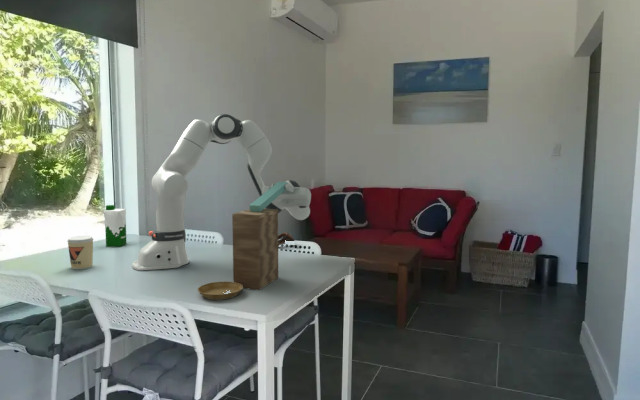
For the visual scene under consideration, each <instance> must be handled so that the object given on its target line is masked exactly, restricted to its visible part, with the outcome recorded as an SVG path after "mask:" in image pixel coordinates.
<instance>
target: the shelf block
mask: <svg viewBox="0 0 640 400" xmlns="http://www.w3.org/2000/svg"><path fill="white" fill-rule="evenodd" d="M231 216H232V218H231V219H232V220H231V221H232V268H233V269H232V271H233V274H232V275H233V280H232V282H236V283H239V284H241V285H242V286H243V288H242V289H247V288H249V289H248V290H255V289H257V291H260V290H261V289H263V288H264V286H265V287H266V286H268V285H269V284H271V283H273V282H274V281H276V280H277V279H279V246H278V236H279V214H278V209H263V210H262V211H261V212H250V208H249V209H246V210H241V211H237V212H234V213H232V215H231ZM272 281H273V282H272ZM267 284H268V285H267Z"/></svg>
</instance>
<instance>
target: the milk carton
mask: <svg viewBox="0 0 640 400" xmlns="http://www.w3.org/2000/svg"><path fill="white" fill-rule="evenodd" d="M103 218H104V226H105V228H104V230H105V247H107V248H111V247H112V248H121V247H123V246H125V245H127V225H126V224H127V223H126V222H127V221H126V208H116V206H115V205H114V204H108V205H107V204H106V205H105V209H104V210H103Z"/></svg>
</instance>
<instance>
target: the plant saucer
mask: <svg viewBox="0 0 640 400" xmlns="http://www.w3.org/2000/svg"><path fill="white" fill-rule="evenodd" d="M242 289H244V288H243V286H242V285H241V284H239V283H236V282H233V281H214V282H209V283H205V284H202V285H200V286H199V287H198V288H197V291H198V292H199V294H200V295H201V296H203V297H204V298H205V299H208V300H213V301H214V300H215V301H218V300H221V299H222V300H227V299H228V298H229V299H232V298H235V297H236V296H238V294H239V293H241V291H242ZM226 290H227V291H229V290H230V292H231V293H228V294H224V293H226V292H227V291H226ZM223 292H224V293H223ZM234 296H235V297H234ZM229 299H228V300H229Z"/></svg>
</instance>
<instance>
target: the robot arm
mask: <svg viewBox="0 0 640 400" xmlns="http://www.w3.org/2000/svg"><path fill="white" fill-rule="evenodd" d="M233 140H234V141H236V142H238V143H239V144H240V145H241V146H242V148H243V149H244V151H245V153H246V156H247V157H248V159H247V160H248V162H247V164H246V166H247V171H248V172H249V175H250V177H251V180H252V182H253V184H254V187H255V189H256V191H257V193H258V195H259V197H260V196H261V195H263V194H264V193H265V192H266V191H268V190H269V189H270V188H271V187H273V186H274V185H275V184H276V183H271V186H268V185H265V182H264V181H263V178H262V174H261V173H262V171H263V168H264V167H265V165H266V164H267V162H268V161H269V160H270V158H271V157H272V153H273V148H272V145H271V143H270V141H269V138H267V136H266V135H265V133H264V132H263V131H262V130H261V128H260V127H259V126H258V125H257V123H255V122H254V121H253V120H250V119H246V120H245V119H244V120H243V121H241V120H240V119H238V118H236V117H235V116H232V115H230V114H227V113H224V114H223V113H222V114H219V115H218V116H215V118H214V119H213V120H212V122H207V121H205V120H203V119H194V120H193V121H191V123H190V124H189V125H188V126H187V127H186V128H185V129H184V131H183V132H182V134H181V135H180V137H179V139H178V141H177V143H176V144H175V145H174V147H173V148H172V151H170V152H171V153H170V154H169V156H167V158H166V159H165V160H164V162H163V163H162V164H161V165H160V167H159V169H158V170H157V171H156V173H155V174H154V175H153V176H152V178H151V187H152V189H153V191H154V192H155V193H156V194H158V197H157V207H156V211H155V221H156V224H155V226H156V229H155V230H154V231H153V230H151V231H150V230H149V232H148V236H150V237H151V240H150V241H149V242H147V244H145V245H144V246H143V247H142V248H140V250H139V251H138V254H137V260H135V261H133V262H132V263H131V266H132V267H131V268H133V269H134V270H136V271H153V270H154V271H155V270H162V269H163V270H165V269H167V270H168V269H176V268H181V266H185V265H187V264H189V262H190V260H189V256H188V253H187V249H186V248H187V247H186V239H187V237H186V229H185V219H184V218H185V217H184V213H185V212H184V211H185V203H186V196H187V191H188V186H189V185H188V181H187V179H186V177H187V176H188V175H189V173H190V172H191V171H192V170H193V169H194V168H195V167H196V166H197V164H198V162H199V160H200V159H201V157H202V156H203V154H204V151H205V149H207V147H208V145H209V144H210V143H211V142H212V143H216V144H220V145H226V144H229V143H230V142H231V141H233ZM285 182H287V183H288V184H284V189H285V191H284V192H283V193H282V194H280V195H279V196H278V197H277V198H276V199H275V200H274V201H272V202H271V203H270V204H269V205H268V206H267V207H266V208H264V209H278V215H279V214H280V213H281V212H283V210H284V209H285V210H286V211H287V212H288V213H289V215H290V216H292V217H293V218H294V219H295V220H299V221H303V220H306V219H307V218H309V216H310V214H311V208H310V204H311V201H312V193H311V190H310V189H309V188H307V187H300V185H299V184H298V181H295V180H291V179H288V180H285Z"/></svg>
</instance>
